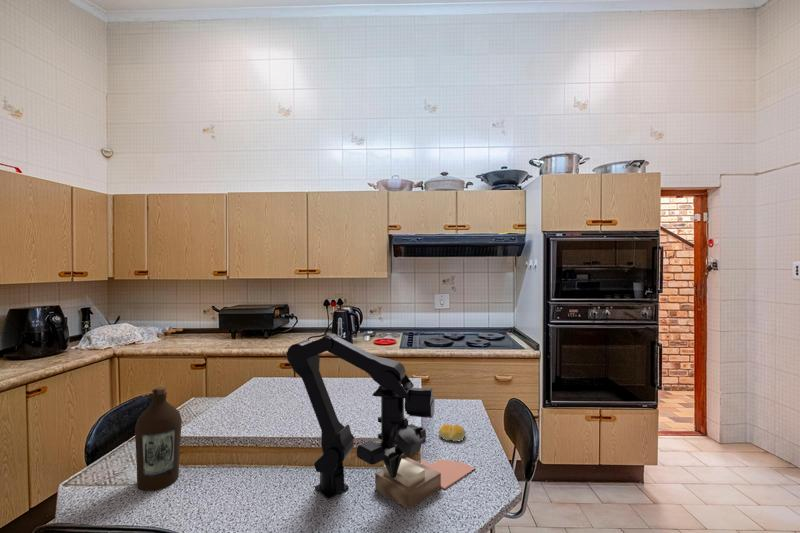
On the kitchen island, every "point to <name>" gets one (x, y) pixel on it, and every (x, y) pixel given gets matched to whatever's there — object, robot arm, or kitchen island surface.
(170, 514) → the kitchen island surface
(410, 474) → the cream rectangular block
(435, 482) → the panel
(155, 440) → the olive oil
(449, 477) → the mat
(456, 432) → the bread roll
